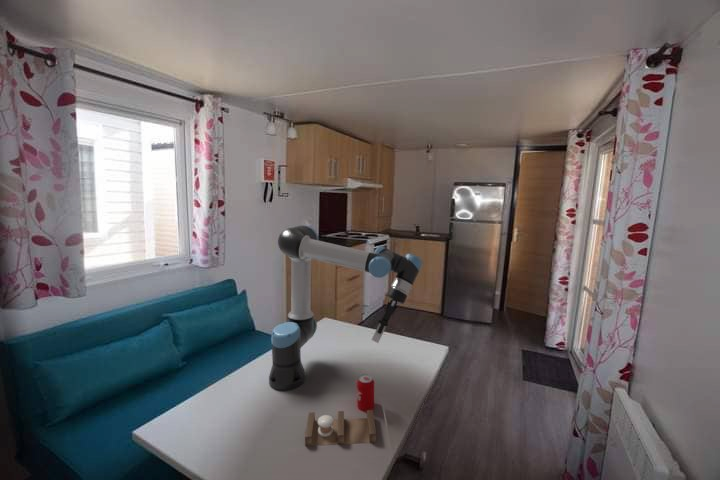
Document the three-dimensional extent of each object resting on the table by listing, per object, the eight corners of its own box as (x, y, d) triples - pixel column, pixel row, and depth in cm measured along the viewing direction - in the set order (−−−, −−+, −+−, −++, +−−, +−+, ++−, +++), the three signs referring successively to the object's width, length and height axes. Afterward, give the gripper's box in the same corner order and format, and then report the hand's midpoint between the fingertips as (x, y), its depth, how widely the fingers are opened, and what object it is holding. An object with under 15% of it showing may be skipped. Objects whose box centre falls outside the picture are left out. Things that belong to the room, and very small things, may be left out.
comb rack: (305, 448, 96) (304, 436, 96) (309, 423, 107) (308, 412, 106) (376, 445, 97) (376, 433, 97) (372, 420, 108) (372, 409, 108)
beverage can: (364, 400, 119) (364, 371, 117) (377, 407, 115) (377, 377, 113) (353, 409, 114) (353, 378, 112) (367, 416, 110) (367, 385, 109)
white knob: (317, 437, 99) (317, 426, 99) (318, 426, 104) (318, 415, 104) (333, 437, 99) (332, 425, 99) (333, 425, 104) (333, 414, 104)
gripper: (410, 292, 112) (383, 347, 108) (405, 297, 136) (384, 342, 132) (391, 283, 113) (364, 337, 109) (390, 289, 137) (368, 334, 133)
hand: (375, 340), depth 121 cm, fingers open, 13 cm apart
